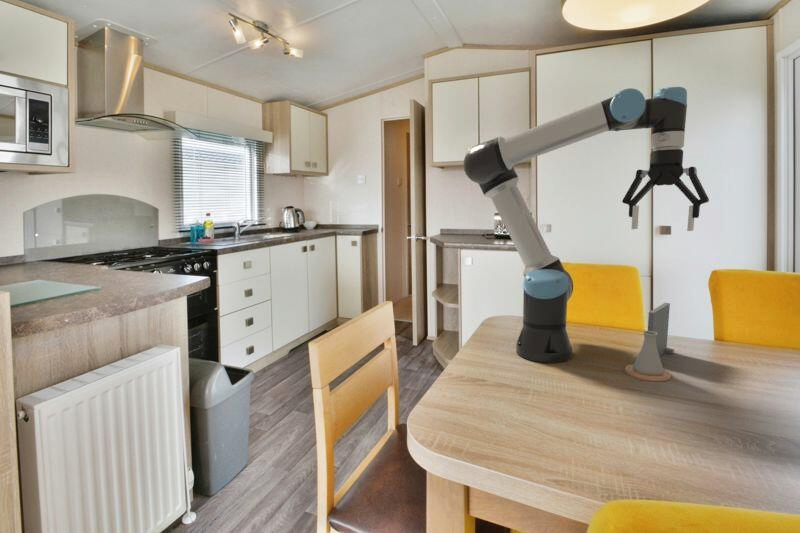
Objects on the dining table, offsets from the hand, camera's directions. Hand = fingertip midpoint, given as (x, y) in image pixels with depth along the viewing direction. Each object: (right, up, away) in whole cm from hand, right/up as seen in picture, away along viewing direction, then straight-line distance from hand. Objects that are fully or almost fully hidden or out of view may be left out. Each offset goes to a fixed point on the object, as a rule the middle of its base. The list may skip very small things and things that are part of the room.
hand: (661, 229), depth 121 cm
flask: (-9, -36, -10) cm, 39 cm away
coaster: (-9, -37, -10) cm, 39 cm away
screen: (-1, -35, +1) cm, 35 cm away
